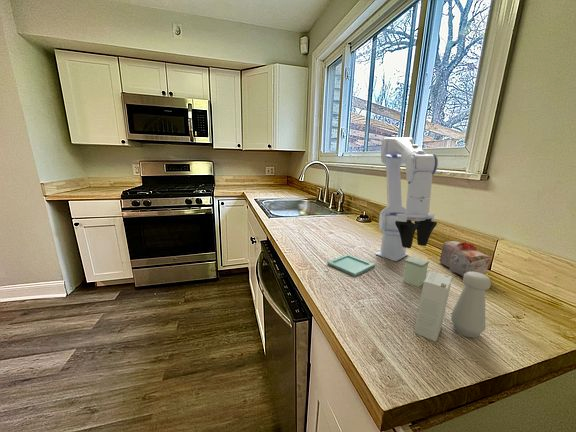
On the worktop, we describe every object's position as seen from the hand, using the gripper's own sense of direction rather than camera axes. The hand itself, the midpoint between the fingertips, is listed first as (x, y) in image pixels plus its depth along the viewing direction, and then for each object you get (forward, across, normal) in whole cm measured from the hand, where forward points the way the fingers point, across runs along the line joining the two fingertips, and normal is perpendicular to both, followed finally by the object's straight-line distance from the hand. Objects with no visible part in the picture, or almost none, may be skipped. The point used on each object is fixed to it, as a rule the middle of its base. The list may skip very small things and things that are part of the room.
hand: (414, 246), depth 67 cm
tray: (+10, -6, +18) cm, 21 cm away
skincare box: (+14, -14, -13) cm, 24 cm away
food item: (+10, +22, -3) cm, 24 cm away
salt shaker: (+14, -8, -17) cm, 23 cm away
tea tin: (+11, +2, +1) cm, 11 cm away
